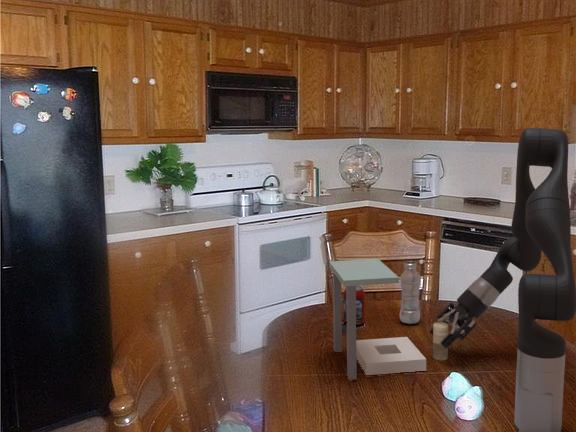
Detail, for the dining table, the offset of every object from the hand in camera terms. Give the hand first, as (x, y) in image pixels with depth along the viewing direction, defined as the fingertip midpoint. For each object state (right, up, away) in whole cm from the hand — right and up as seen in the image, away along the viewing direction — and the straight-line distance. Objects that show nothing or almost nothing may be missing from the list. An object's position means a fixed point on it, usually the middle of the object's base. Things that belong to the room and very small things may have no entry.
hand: (437, 340), depth 160 cm
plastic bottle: (-2, -1, +28) cm, 28 cm away
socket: (-14, -6, -1) cm, 15 cm away
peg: (+1, -5, +1) cm, 5 cm away
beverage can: (-20, -1, +29) cm, 35 cm away
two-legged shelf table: (-21, -6, -2) cm, 22 cm away
